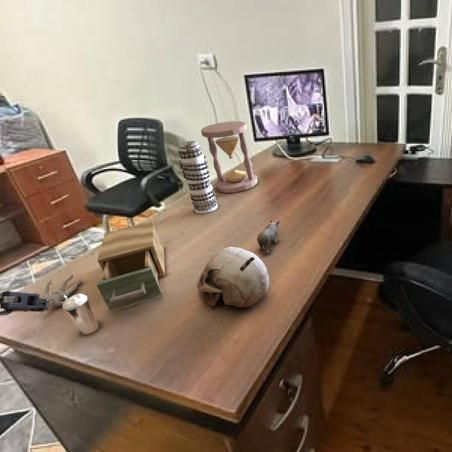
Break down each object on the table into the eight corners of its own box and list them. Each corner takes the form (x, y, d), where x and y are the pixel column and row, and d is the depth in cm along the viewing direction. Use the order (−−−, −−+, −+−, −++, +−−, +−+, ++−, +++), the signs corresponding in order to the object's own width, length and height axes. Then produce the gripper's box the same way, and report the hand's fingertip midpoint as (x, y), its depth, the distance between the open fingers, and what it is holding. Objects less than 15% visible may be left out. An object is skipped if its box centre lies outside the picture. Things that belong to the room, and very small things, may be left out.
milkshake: (90, 319, 82) (70, 286, 77) (106, 323, 80) (88, 289, 75) (71, 333, 78) (50, 299, 74) (88, 338, 77) (68, 303, 72)
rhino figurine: (286, 231, 111) (283, 214, 108) (269, 255, 100) (265, 237, 97) (274, 230, 112) (271, 214, 109) (256, 254, 101) (252, 236, 98)
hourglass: (264, 177, 156) (253, 120, 144) (246, 193, 141) (232, 131, 129) (229, 177, 160) (215, 121, 148) (208, 192, 146) (191, 132, 133)
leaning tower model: (193, 206, 135) (174, 142, 123) (218, 201, 137) (201, 137, 125) (193, 215, 127) (172, 148, 115) (219, 210, 129) (201, 144, 117)
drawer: (162, 305, 83) (151, 279, 79) (107, 323, 79) (93, 296, 75) (161, 265, 98) (151, 241, 94) (115, 278, 94) (103, 254, 91)
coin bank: (202, 281, 91) (193, 237, 84) (269, 275, 94) (266, 233, 87) (192, 325, 78) (181, 278, 71) (271, 317, 81) (267, 271, 74)
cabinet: (164, 275, 95) (152, 245, 91) (112, 291, 91) (97, 260, 86) (163, 248, 108) (153, 221, 103) (117, 261, 104) (104, 232, 99)
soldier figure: (93, 285, 96) (69, 302, 84) (83, 299, 96) (57, 318, 84) (65, 270, 94) (37, 284, 82) (55, 284, 94) (25, 301, 82)
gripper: (-25, 267, 48) (62, 282, 63) (-135, 281, 47) (-19, 292, 63) (-34, 324, 46) (58, 325, 61) (-149, 339, 45) (-26, 335, 61)
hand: (19, 308), depth 62 cm, fingers open, 8 cm apart
